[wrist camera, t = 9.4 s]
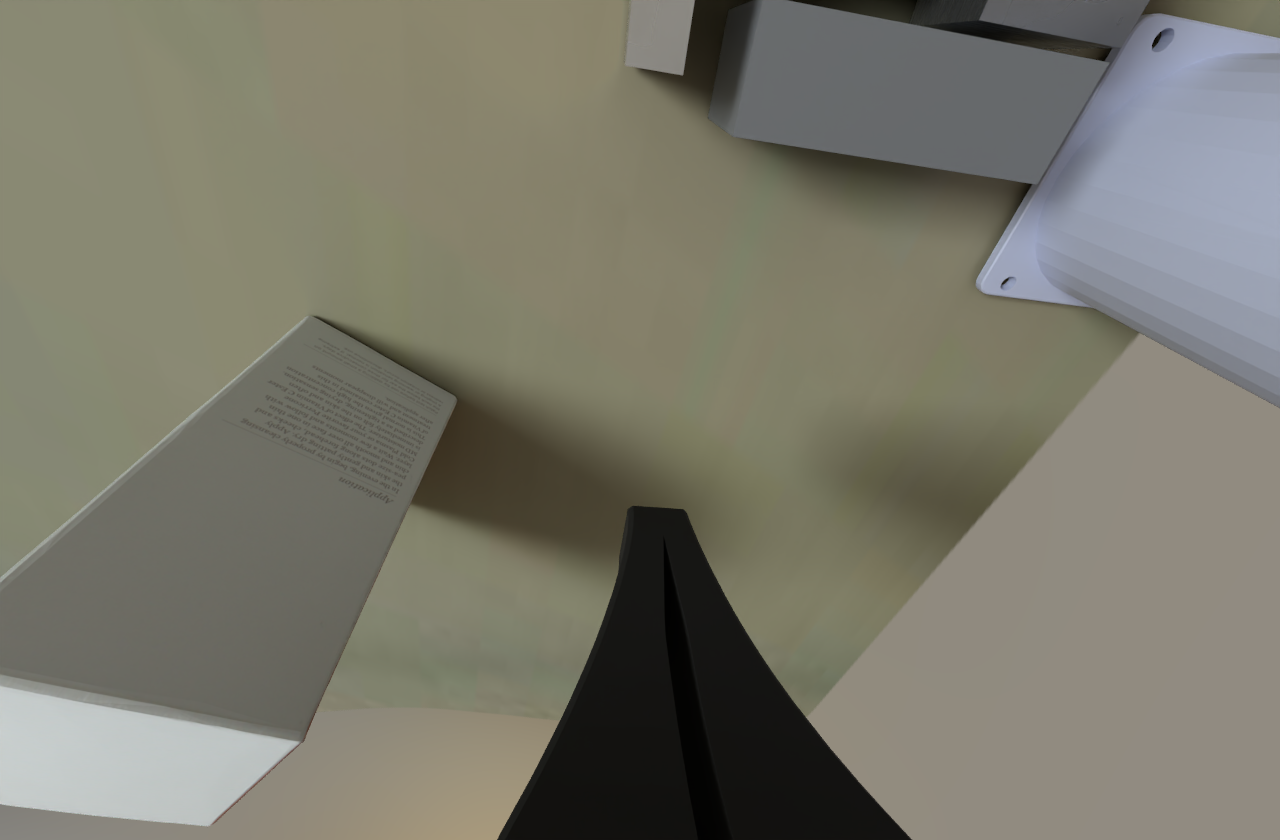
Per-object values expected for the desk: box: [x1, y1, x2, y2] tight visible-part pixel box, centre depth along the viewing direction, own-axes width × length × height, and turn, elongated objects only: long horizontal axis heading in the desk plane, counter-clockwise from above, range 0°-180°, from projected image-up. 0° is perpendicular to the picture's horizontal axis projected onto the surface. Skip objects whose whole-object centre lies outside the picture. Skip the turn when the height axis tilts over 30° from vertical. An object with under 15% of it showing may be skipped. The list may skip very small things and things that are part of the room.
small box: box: [0, 316, 457, 826], centre depth 16 cm, size 8×6×13 cm
